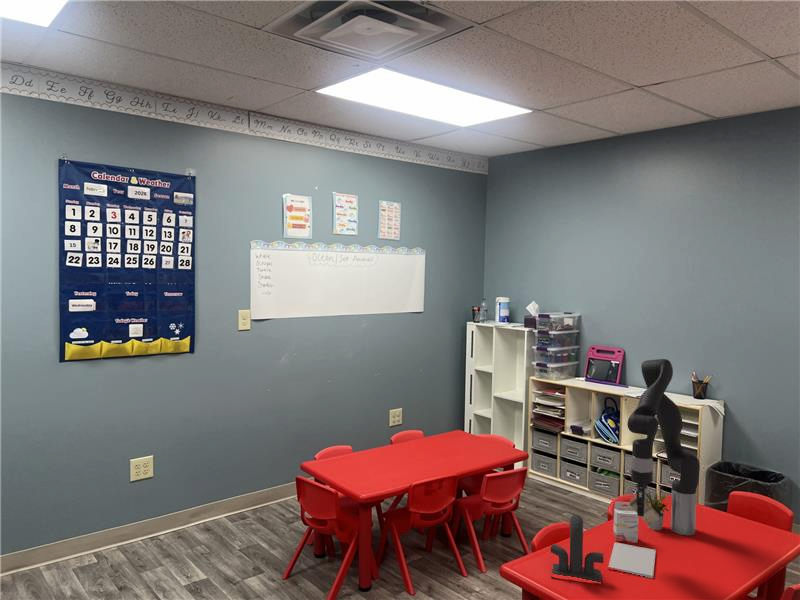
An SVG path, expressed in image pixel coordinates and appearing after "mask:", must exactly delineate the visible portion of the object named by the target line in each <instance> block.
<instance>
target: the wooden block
mask: <svg viewBox="0 0 800 600" xmlns="http://www.w3.org/2000/svg"><path fill="white" fill-rule="evenodd" d="M629 502H630V503H629V505H630V506H631V507H632V508H633V509H634V510H635V511H636V512H637V505H636V503H637V499H636V495H635V496H634V497H632V498H631V499H630V500H629ZM648 502H649V501H648ZM648 502H647V501H646V500H645V501H644V504H645V506H644V516H639V517H640V518H641V519H642V520H643V521H644V522H645V523H646V525H647V526H648V525H649V526H651V525H652V524H653V523H655V522H656V521H657V520H659V514H658V513H657V512H656V511H655V510H654V509H653V507H652V506H651V505H650V504H651V503H650V502H649V503H648ZM639 503H643V502H642V501H639ZM629 505H628V506H629Z"/></svg>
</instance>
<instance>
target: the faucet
mask: <svg viewBox="0 0 800 600" xmlns="http://www.w3.org/2000/svg"><path fill="white" fill-rule="evenodd" d="M569 532H570V533H569V554H568V552H567V550H566V549H565V548H563V547H562V546H559V545H558V544H556V543H552V545H550V553H552V555H556V556H557V557H558V563H552V564H553V569H552V573H553V574H557V575H563V576H571V577H577V578H582V579H586V580H592V581H597V582H602V583H603V580H602V571H601V570H600V569H599V568H595V563H598V564H604V553H602V552H593V551H591V552H589V553H587V554H586V555H585V556H583V555H584V554H583V553H584V552H583V551H584V550H583V549H584V543H583V542H584V521H583V518H582V516H581V515H579V514H576V513H575V514H572V515H571V516H570V519H569ZM583 557H584V558H583ZM583 559H584V564H583ZM583 565H584V566H583Z"/></svg>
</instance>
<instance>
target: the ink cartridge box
mask: <svg viewBox="0 0 800 600" xmlns="http://www.w3.org/2000/svg"><path fill="white" fill-rule="evenodd" d="M629 503H630V501H628V502H627V501H615V502H614V509H613V530H612V531H613V535H614V536H613V535H612V536H613V538H614V537H615V538H614V540H615V539H616V540H622V541H632V542H631V543H638V539H639V538H638V537H639V516H638V515H637V512H636V511H635V510H634V509H633V508H632V507H631V506H630V505H629ZM625 505H626V506H625ZM616 540H615V541H616ZM622 541H621V542H622Z"/></svg>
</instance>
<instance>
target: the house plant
mask: <svg viewBox="0 0 800 600" xmlns="http://www.w3.org/2000/svg"><path fill="white" fill-rule="evenodd" d="M667 495H669V492H667V493H665V494H663V493H662V494H660V498H659V495H658V488H657V490H656V491H655V493H654V498H652V496H651V493H650V492H649V491H647V496H646V501H647V502H648V503H649V504H650V505H651V506H652V507H653V509H654V510H655V511H656V512H657V513H658V514H659V520H657V521H656V522H655V523H653V524H652V525H651V526H649V525H648V524H647V527H648V528H649V529H650V530H653V531H660V530H662V529H663V528H662V527H663V523H664V517H665V512H667V514H669V513H670V512H669V509H667V507H668V508H669V506H668V504H665V503H663V502H664V501H666V499H665V498H666V497H667ZM661 496H662V497H661ZM658 498H659V499H658ZM669 499H671V498H667V500H669Z"/></svg>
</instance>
